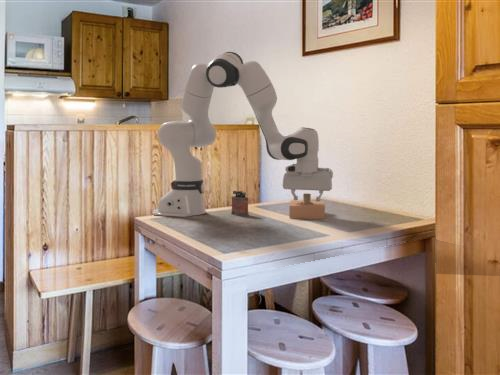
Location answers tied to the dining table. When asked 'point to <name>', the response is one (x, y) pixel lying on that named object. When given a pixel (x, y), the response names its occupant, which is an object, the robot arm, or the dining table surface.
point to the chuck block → (307, 210)
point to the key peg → (306, 198)
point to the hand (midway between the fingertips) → (306, 200)
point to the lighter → (239, 203)
